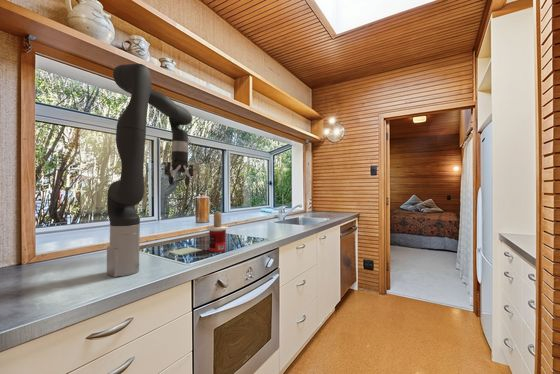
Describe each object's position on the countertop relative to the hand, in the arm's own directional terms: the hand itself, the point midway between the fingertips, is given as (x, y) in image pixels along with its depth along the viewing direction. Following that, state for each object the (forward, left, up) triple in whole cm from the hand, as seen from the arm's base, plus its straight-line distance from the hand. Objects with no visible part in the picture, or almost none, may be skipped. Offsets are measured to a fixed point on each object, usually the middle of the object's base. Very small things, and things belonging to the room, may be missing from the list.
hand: (179, 184), depth 123 cm
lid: (+11, -15, -21) cm, 28 cm away
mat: (+1, -4, -32) cm, 32 cm away
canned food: (+11, -15, -32) cm, 37 cm away
